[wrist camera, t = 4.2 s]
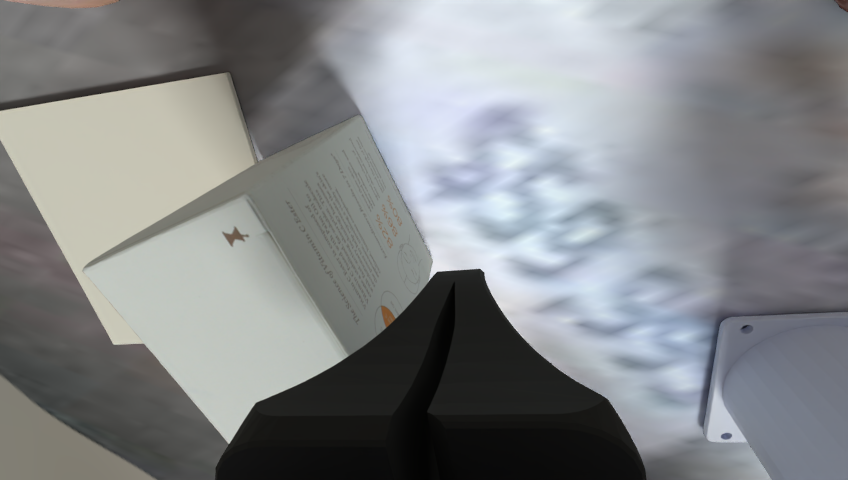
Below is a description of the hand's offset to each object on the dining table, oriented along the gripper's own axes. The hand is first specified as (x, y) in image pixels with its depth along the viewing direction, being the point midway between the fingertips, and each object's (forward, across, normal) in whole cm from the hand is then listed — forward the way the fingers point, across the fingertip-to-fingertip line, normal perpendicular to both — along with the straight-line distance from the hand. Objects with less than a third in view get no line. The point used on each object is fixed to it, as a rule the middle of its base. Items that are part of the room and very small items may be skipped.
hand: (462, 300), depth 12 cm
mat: (+8, +16, 0) cm, 18 cm away
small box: (+9, +6, 0) cm, 10 cm away
